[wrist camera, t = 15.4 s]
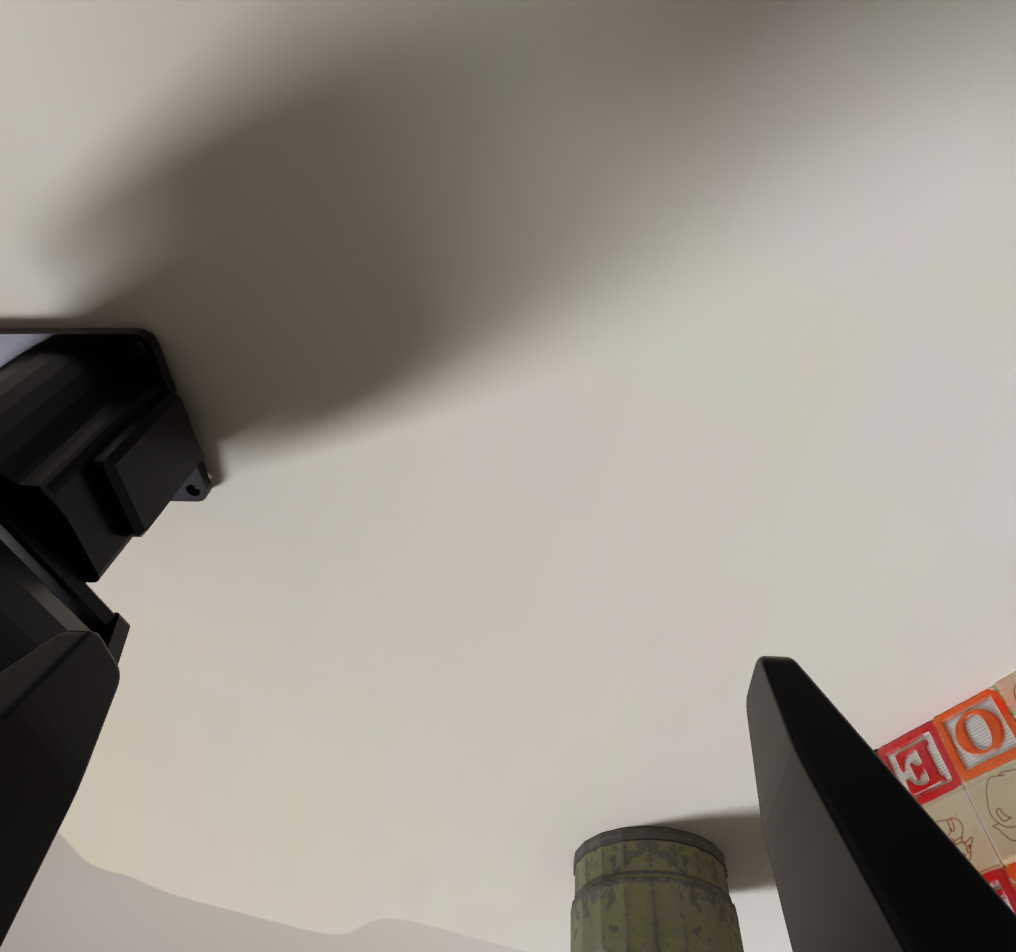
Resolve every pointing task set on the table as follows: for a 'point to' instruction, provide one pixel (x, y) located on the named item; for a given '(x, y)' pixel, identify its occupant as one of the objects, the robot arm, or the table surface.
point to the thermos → (652, 894)
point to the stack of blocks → (968, 779)
